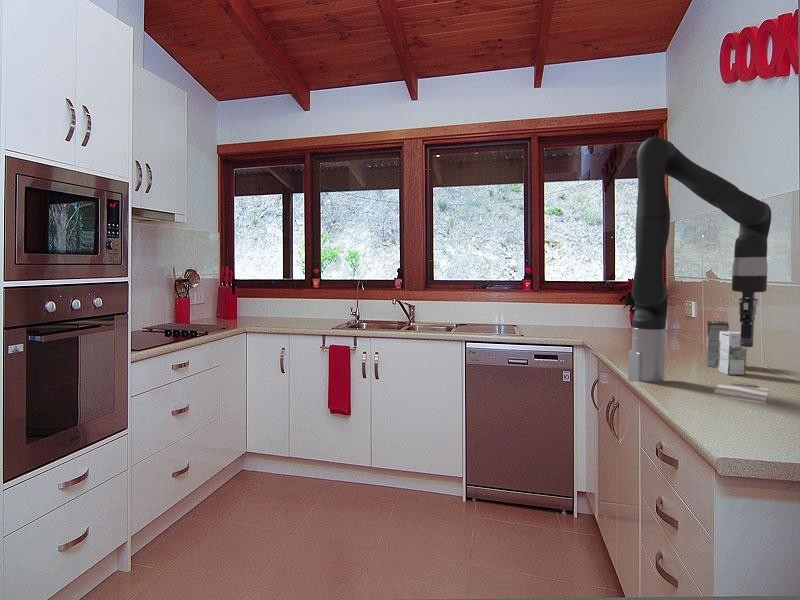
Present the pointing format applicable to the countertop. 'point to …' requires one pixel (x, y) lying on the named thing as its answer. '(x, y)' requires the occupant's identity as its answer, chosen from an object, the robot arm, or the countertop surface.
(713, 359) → the coffee box
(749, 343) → the marker
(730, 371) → the syrup box
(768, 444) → the countertop surface
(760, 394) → the clipboard
